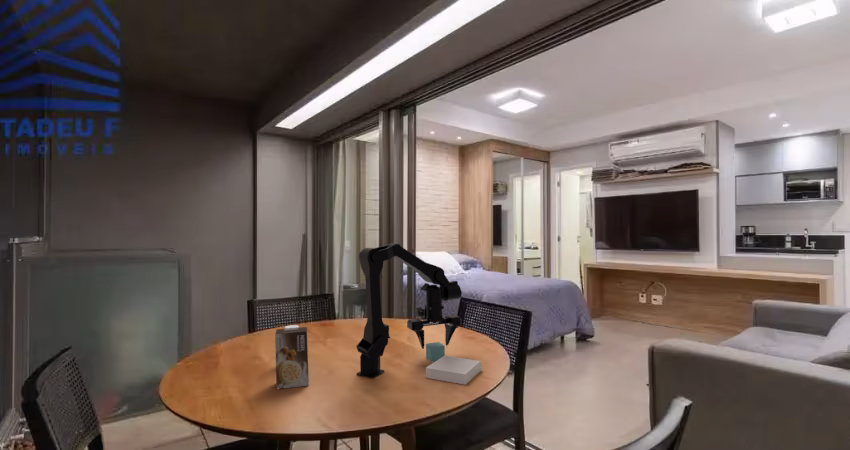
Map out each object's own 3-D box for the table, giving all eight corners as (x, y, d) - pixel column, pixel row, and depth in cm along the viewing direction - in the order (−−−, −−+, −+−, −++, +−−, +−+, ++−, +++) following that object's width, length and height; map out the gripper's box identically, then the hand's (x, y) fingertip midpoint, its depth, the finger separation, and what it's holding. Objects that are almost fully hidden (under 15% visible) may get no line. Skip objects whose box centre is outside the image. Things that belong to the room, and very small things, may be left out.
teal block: (431, 362, 135) (431, 347, 136) (426, 357, 140) (425, 343, 140) (444, 360, 137) (444, 345, 137) (438, 355, 142) (438, 342, 142)
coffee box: (309, 378, 122) (308, 326, 122) (308, 386, 116) (308, 331, 116) (277, 382, 119) (276, 328, 120) (275, 390, 113) (274, 333, 113)
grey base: (465, 384, 115) (465, 374, 115) (425, 377, 121) (425, 367, 121) (480, 370, 126) (480, 361, 126) (444, 364, 132) (443, 355, 132)
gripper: (448, 297, 150) (449, 338, 150) (401, 301, 143) (402, 344, 143) (461, 301, 140) (462, 345, 139) (412, 306, 133) (413, 352, 132)
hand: (434, 346), depth 139 cm, fingers open, 9 cm apart
